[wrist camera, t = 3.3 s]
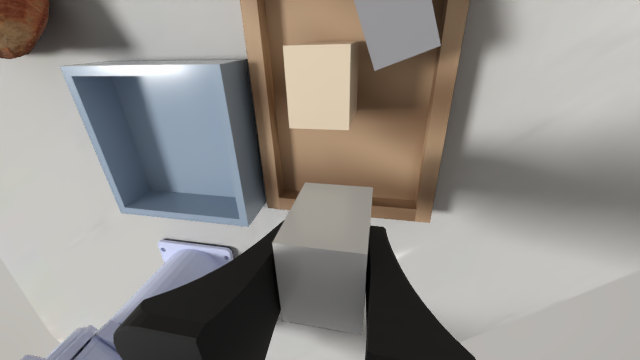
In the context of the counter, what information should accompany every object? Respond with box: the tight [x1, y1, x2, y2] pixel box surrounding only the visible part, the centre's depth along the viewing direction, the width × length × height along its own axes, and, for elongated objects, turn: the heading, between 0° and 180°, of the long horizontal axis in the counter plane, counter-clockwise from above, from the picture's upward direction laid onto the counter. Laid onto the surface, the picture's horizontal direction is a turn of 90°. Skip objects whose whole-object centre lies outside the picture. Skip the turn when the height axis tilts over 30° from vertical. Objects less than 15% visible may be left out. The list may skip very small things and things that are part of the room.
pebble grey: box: [272, 183, 373, 335], centre depth 12 cm, size 4×3×4 cm
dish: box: [60, 59, 266, 227], centre depth 21 cm, size 11×11×4 cm
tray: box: [240, 0, 470, 223], centre depth 18 cm, size 16×12×2 cm
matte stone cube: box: [354, 0, 441, 71], centre depth 14 cm, size 4×3×4 cm
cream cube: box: [283, 41, 359, 130], centre depth 16 cm, size 4×3×4 cm
